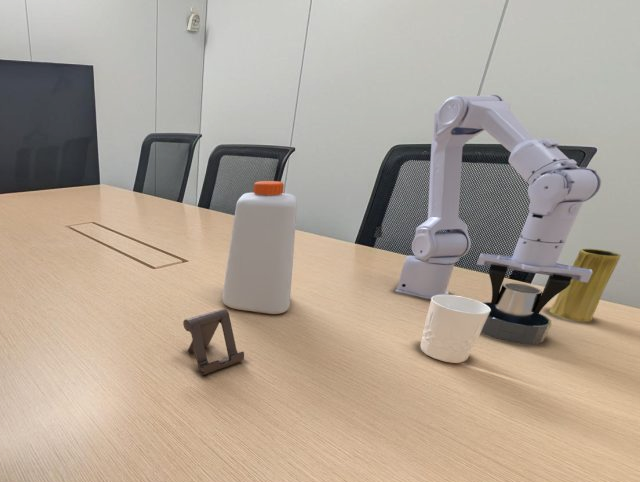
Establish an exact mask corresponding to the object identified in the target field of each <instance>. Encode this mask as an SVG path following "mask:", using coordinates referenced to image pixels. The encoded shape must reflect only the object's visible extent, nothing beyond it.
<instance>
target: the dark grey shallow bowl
mask: <svg viewBox="0 0 640 482" xmlns="http://www.w3.org/2000/svg"><path fill="white" fill-rule="evenodd" d="M482 303H484V304H486V305H487V306H489V307H490V309H491V311H490V314H489V316H488V318H487V320H486V322H485V324H484V327H483V329H482V331H481V333H480V334H483V335H486V336H489V337H491V338H495V339H497V340H500V341H505V342H510V343H515V344H524V345H536V344H541V343H543V342H544V341H545V340H546V337H547V335H548V333H549V331H550V328H551V326H552V320H551V319H550V318H549V317H548V316H546V315H544V314H542V313H541V312H539V314H537V313H533V315H532V317H531V319H530V322H529V324H528V325H521V324H515V323H510V322H506V321H502V320H499V319H496V318H493V317H491V313H492V311H493V308H494V305H495V304H491V301H485V302H482Z"/></svg>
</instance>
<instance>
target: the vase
mask: <svg viewBox="0 0 640 482" xmlns="http://www.w3.org/2000/svg"><path fill="white" fill-rule="evenodd" d="M621 256H622V254H620V253H618V252H615V251H610V250H605V249H598V248H581V249H580V250H579V251H578V255H577V256H576V258H575V261H574V262H573V265H572V266H574V267H579V268H585V269H591V270H592V272H593V273H592V275H591V277H590V279H589V281H588V283H586V282H580V281H578V280H574V279H571V283H570V285H569V286H568V287H567V288H566V289H564V290H562V291H561V292H560V293H558V294H557V295H556V296H557V297H556V298H555V300H554V302H553V304H552V306H551V307H550V308H549V312H550V314H552V315H555V316H557V317H560V318H563V319H567V320H571V321H577V322H591V321H592V320H593V318H594V315H595V312H596V311H597V308H598V305H599V303H600V300H601V298H602V296H603V293H604V291H605V289H606V287H607V285H608V283H609V281H610V279H611V277H612V275H613V273H614V271H615V269H616V267H617V265H618V264H619V261H620V258H621Z"/></svg>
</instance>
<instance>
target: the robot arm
mask: <svg viewBox="0 0 640 482" xmlns="http://www.w3.org/2000/svg"><path fill="white" fill-rule="evenodd" d="M510 108H511V103H510V102H508V101H507V100H505V99H504V97H503V96H502V95H499V94H491V95H453V96H450V97H449V98H447V99H446V100H445V101H444V102H443V103H442V104H441V106H440V107H439V108H438V109H437V110H436V112H435V113H434V121H433V122H434V123H433V136H432V140H431V144H430V145H431V146H430V163H429V187H428V188H429V189H428V205H427V219H426V220H425V221H424V222H422V223H421V224H420V225H418V226H417V227H416V228H415V235H414V237H413V239H412V242H411V250H412V254H413V255H407V256H406V258H405V259H404V262H403V265H402V268H401V272H400V276H399V279H398V283H397V286H396V289H395V292H396V293H401V294H405V295H409V296H414V297H418V298H423V299H427V300H431V298H432V297H433V296H435V295H450V291H448V290H447V289H448V286H449V283H450V280H451V278H452V274H453V272H454V269H455V265H456V262H459V261H460V258H462V257H464V256H466V255H467V254H468V253H469V251H470V250H471V246H472V242H471V241H472V240H471V238H470V236H469V232H468V229H469V228H468V227H469V226H468V225H467V224H466V223H465V221H463V219H461V218H460V217H459V216H460V215H459V213H460V196H461V181H462V179H461V178H462V165H463V164H462V162H463V148H464V146H465V145H466V144H467V143H468V142H469V141H470V140H472V139H474V138H476V137H477V136H478V135H480V134H481V133H483V132H487V133H488V134H489V135H490V136H491V137H492V138H493V139H494V140H496V141H497V142H498V143H499V144H500V145H502V146H503V147H504V148H505V149H506V150H507V151H509V152H510V155H509V156H508V163H509V165H510V166H511V167H512V168H513V169H514V170H515V171H516V172H517V173H518V174H519V175H520V176H521V178H522V179H523V180H524V181H525V182H526V183H527V184H528V188H527V195H528V198H529V205H528V214H527V217H526V220H525V223H524V225H523V228H522V230H521V233H520V236H519V238H518V239H517V242H516V245H515V248H514V250H513V253H512V255H502V254H489V253H480V255H478V256H479V257H478V259H477V262H476V265H478V266H489V268H488V275H489V279H490V284H491V301H490V302H491V304H496V302H497V299H498V295H499V293H500V290H501V288H502V285H503V284H504V280H505V277H506V274H507V272H508V270H512V271H520V272H526V273H532V274H538V275H544V276H548V278H547V280H546V283H545V286H544V288H543V290H542V294H541V296H540V299H539V301H538V303H537V306H536V307H535V310H534V312H533V313H537V314H539V313H541V311H542V310H543V308H544V307H545V306H546V305H547V304H548V303H549V302H550V301H551V300H553V298H555V297H556V296H558V294H559V293H560V292H561V291H562V290H564V289H566V288H567V287H568V286H569V285H570V283H571V279H574V280H578V281H580V282H586V283H588V281H589V279H590V277H591V275H592V273H593V272H592V270H591V269H585V268H579V267H574V266H573V265H569V264H564V263H559V262H558V260H559V257H560V255H561V253H562V251H563V248H564V246H565V243H566V242H567V239H568V237H569V235H570V233H571V230H572V228H573V226H574V224H575V221H576V219H577V216H578V215H579V212H580V210H581V207H582V206H583V203H584V202H587V201H589V200H591V199H592V198H593V197H595V196H596V195H597V194H598V192H599V191H600V189H601V186H602V179H601V176H600V175H599V173H598V172H597V169H594V168H591V167H580V166H578V165H577V164H578V163H577V161H576V160H575V159H570V158H569V157H568V156H567V155H565V153H564V152H562V151H561V150H560V149H559V148H558V146H559V145H560V144H559V142H558V141H557V140H556V139H548V138H546V137H545V138H543V137H542V138H541V137H540V138H535V137H533V135H532V134H531V133H530V131H528V130H527V129H526V127H525V126H524V125H523V124H522V122H521V121H520V120H519V119H518V118H517V116H515V114H514V113H513V112H512V111H511V110H510Z"/></svg>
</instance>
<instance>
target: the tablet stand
mask: <svg viewBox="0 0 640 482" xmlns="http://www.w3.org/2000/svg"><path fill="white" fill-rule="evenodd" d="M182 323H183V324H182V325H183V328H184V330H185V331H186V332H189V333H190V335H191V338H192V340H191V342H190V344H189V346H188V349H187V353H192V352H194V353H195V359H196V363H197V368H198V371H199V373H200V375H202V376H205V375H208V374H211V373H213V372H216V371H218V370H221V369H224V368H226V367H230V366H232V365H234V364H238V363H241V362H243V361H245V351H239V352H238V350H237V346H236V341H235V336H234V332H233V327H232V322H231V316H230V313H229V311H228V310H227V309H226V308H221V309H217V310H214V311H210V312H206V313H203V314H200V315H196V316H192V317H189V318H186V319H184V320H183V322H182ZM219 324H220V325H221V329H222V334H223V337H224V342H225V347H226V352H227V357H226V358H223V359H220V360H219V359H217V360H214V361H212V362H209V361H208V357H207V352H206V348H207V347H209V345H210V343H211V341H212V339H213V337H214V335H215V333H216V331H217V328H218V326H219Z"/></svg>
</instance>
